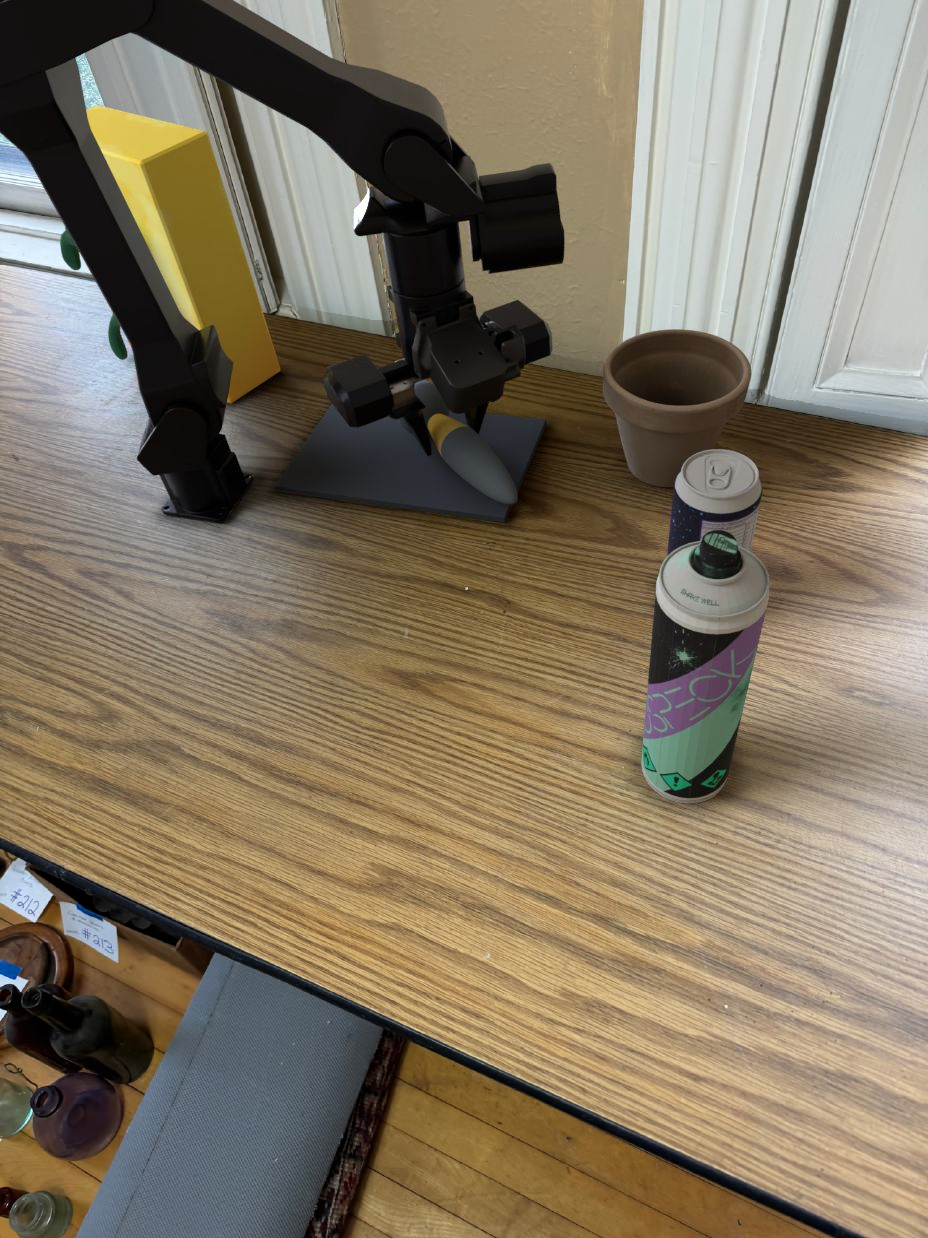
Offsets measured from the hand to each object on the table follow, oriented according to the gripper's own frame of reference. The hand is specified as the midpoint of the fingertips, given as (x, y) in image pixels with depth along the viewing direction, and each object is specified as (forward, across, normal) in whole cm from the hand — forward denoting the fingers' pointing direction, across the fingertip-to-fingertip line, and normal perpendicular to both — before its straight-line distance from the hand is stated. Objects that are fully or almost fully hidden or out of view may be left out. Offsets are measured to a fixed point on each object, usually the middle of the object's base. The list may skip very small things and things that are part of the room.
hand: (450, 444), depth 77 cm
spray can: (+2, -1, -37) cm, 37 cm away
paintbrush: (+2, +1, 0) cm, 2 cm away
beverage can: (+2, +9, -25) cm, 27 cm away
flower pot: (+2, +16, -11) cm, 19 cm away
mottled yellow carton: (+2, -18, +30) cm, 35 cm away
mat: (+2, -3, +3) cm, 5 cm away
